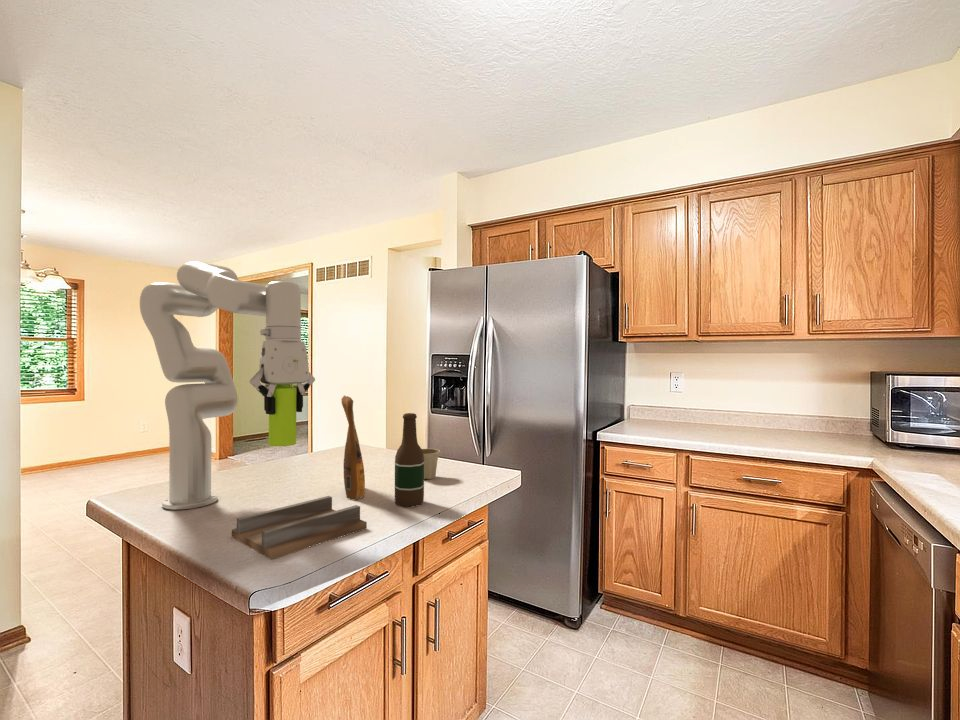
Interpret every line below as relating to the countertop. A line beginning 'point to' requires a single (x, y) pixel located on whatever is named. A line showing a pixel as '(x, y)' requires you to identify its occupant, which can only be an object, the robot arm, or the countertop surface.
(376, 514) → the countertop surface
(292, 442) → the soap dispenser
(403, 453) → the beer bottle
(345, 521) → the track board
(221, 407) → the robot arm
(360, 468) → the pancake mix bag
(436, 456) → the flower pot
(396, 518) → the countertop surface
